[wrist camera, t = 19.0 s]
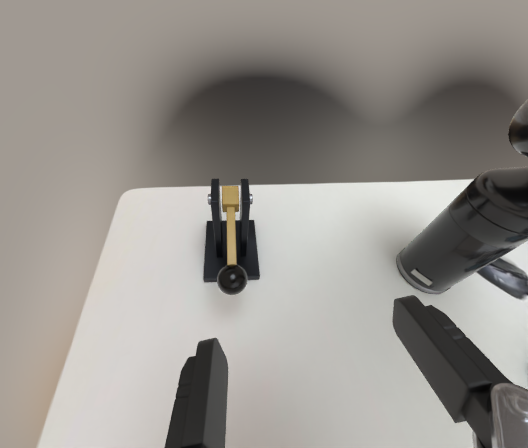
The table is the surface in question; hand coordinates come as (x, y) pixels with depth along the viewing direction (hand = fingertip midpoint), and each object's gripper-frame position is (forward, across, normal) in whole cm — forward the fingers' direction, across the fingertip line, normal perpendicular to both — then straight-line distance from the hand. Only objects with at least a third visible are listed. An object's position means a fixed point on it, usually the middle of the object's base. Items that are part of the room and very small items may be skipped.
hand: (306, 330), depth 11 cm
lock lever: (+21, +6, +7) cm, 23 cm away
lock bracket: (+29, +8, +14) cm, 33 cm away
